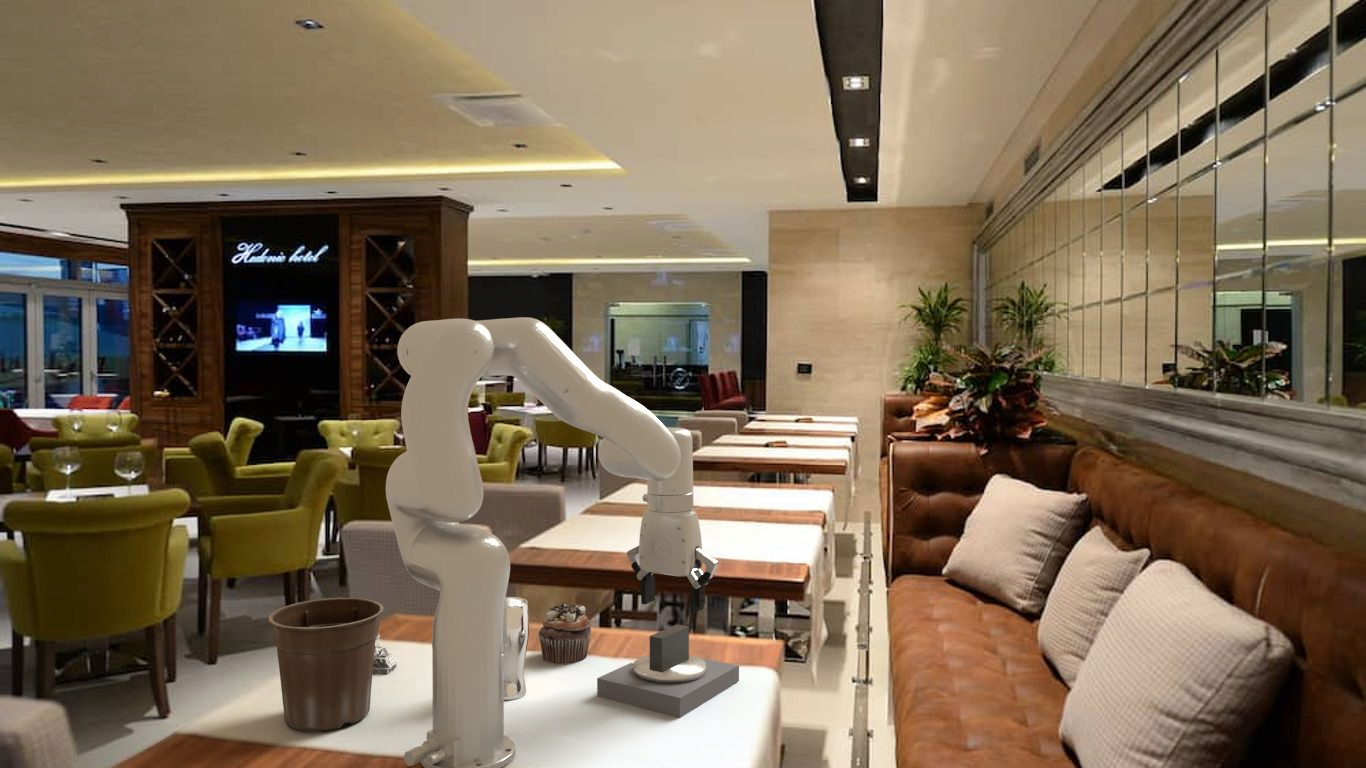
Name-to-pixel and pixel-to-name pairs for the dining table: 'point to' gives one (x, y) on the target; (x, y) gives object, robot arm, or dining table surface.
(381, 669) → the house of cards
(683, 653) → the dial
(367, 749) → the dining table surface
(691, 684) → the control panel
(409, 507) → the robot arm
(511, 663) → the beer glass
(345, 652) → the plant pot
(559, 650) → the cupcake
